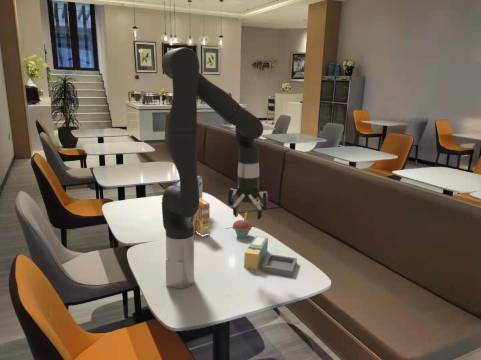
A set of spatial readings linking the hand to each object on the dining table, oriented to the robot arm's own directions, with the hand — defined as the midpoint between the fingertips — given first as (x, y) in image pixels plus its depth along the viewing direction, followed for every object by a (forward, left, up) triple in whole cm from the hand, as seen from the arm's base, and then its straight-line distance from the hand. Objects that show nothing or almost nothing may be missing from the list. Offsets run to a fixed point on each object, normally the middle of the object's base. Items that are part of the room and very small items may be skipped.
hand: (247, 217), depth 137 cm
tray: (+2, -12, -19) cm, 23 cm away
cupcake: (+26, +10, -19) cm, 34 cm away
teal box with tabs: (+8, -2, -19) cm, 21 cm away
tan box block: (0, -2, -19) cm, 19 cm away
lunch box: (+38, +42, -19) cm, 60 cm away
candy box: (+22, +28, -19) cm, 40 cm away
